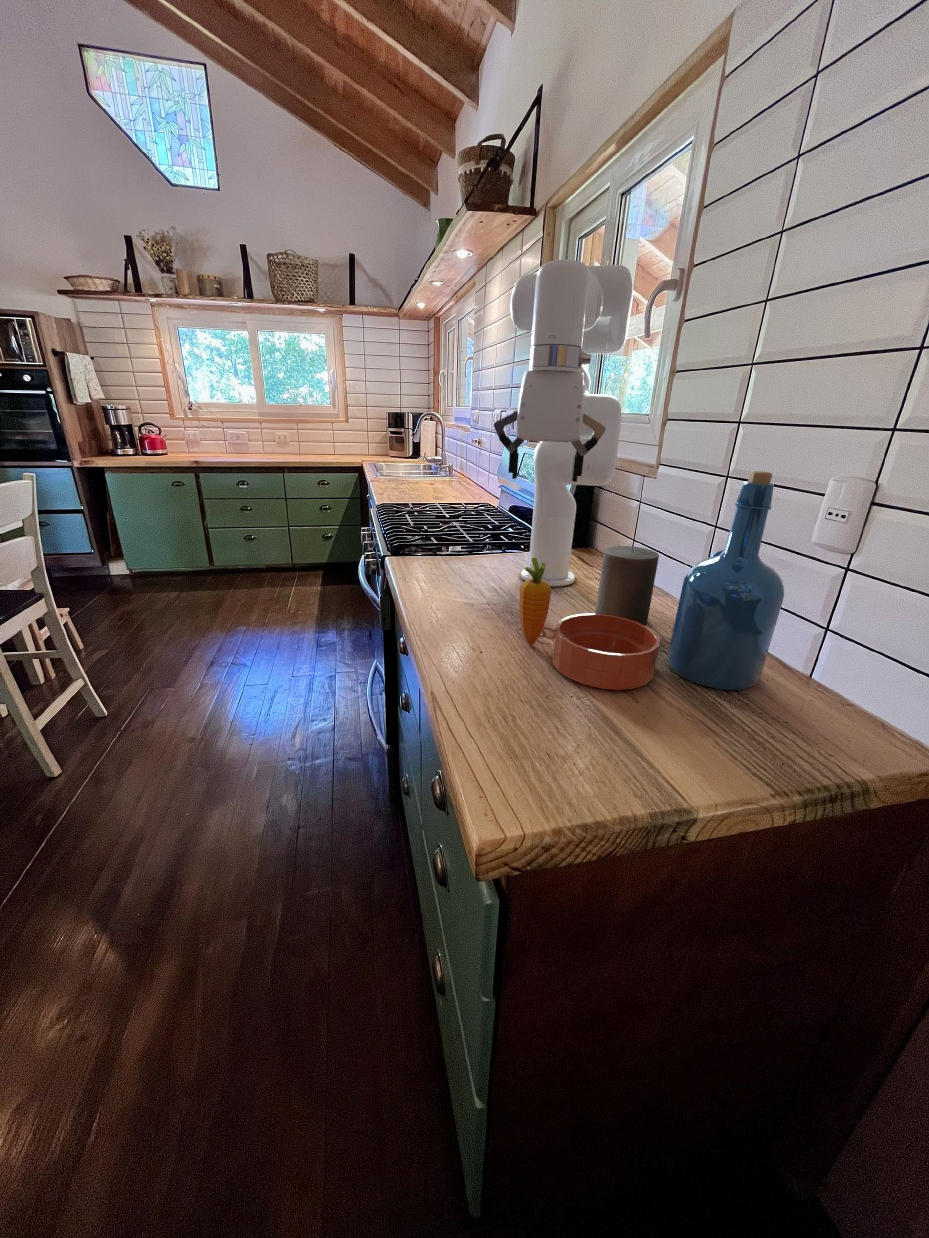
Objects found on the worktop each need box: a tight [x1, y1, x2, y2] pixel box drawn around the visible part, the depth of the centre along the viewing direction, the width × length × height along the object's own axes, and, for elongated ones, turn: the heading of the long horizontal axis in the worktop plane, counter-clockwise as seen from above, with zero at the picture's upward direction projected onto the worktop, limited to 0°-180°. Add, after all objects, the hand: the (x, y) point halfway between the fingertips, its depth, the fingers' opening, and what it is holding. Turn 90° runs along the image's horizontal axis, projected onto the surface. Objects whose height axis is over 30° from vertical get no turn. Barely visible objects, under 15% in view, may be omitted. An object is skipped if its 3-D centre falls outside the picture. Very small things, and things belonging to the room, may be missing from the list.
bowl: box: [551, 613, 661, 691], centre depth 76 cm, size 15×15×6 cm
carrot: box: [518, 557, 552, 647], centre depth 81 cm, size 5×5×15 cm
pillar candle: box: [594, 544, 660, 627], centre depth 92 cm, size 10×10×15 cm
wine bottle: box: [667, 470, 785, 691], centre depth 72 cm, size 14×13×30 cm
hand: (544, 479), depth 81 cm, fingers open, 9 cm apart
